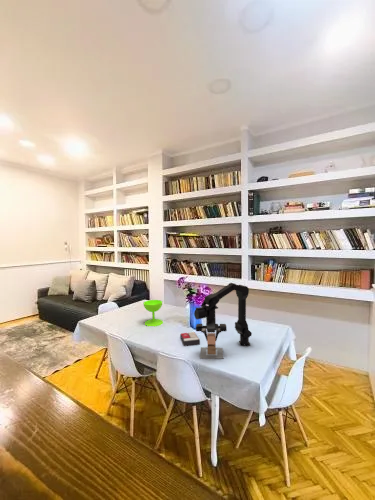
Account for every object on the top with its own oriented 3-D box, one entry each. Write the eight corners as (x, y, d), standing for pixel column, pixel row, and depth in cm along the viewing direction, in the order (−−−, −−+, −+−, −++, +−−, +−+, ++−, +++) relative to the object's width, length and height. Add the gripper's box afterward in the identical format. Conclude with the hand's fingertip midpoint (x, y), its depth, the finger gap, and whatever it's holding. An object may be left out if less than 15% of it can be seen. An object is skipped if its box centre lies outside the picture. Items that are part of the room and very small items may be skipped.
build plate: (200, 347, 163) (200, 347, 163) (222, 348, 162) (222, 347, 162) (200, 358, 149) (200, 357, 149) (223, 358, 148) (223, 358, 148)
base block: (207, 350, 158) (207, 342, 158) (215, 350, 158) (215, 342, 157) (207, 354, 153) (207, 346, 153) (215, 354, 153) (215, 346, 152)
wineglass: (140, 325, 206) (140, 304, 205) (149, 319, 222) (148, 299, 221) (158, 327, 202) (157, 305, 201) (166, 320, 217) (165, 300, 216)
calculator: (194, 331, 183) (199, 338, 168) (195, 337, 183) (200, 344, 168) (180, 333, 181) (183, 340, 166) (180, 338, 181) (184, 346, 166)
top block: (207, 340, 158) (207, 333, 157) (215, 340, 157) (215, 333, 157) (207, 344, 153) (207, 336, 152) (215, 344, 152) (215, 336, 152)
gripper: (194, 320, 147) (195, 346, 148) (226, 320, 145) (227, 346, 146) (196, 314, 158) (196, 338, 159) (225, 314, 156) (226, 338, 157)
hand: (211, 340), depth 155 cm, fingers closed on top block, 5 cm apart
